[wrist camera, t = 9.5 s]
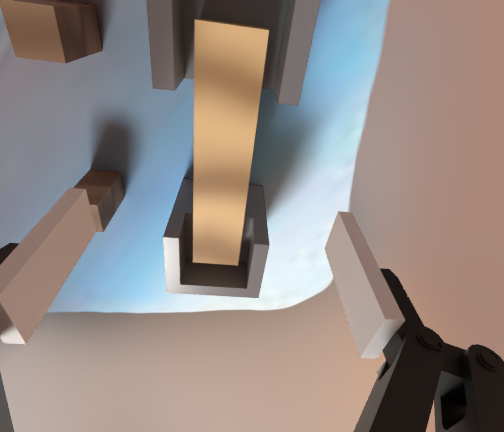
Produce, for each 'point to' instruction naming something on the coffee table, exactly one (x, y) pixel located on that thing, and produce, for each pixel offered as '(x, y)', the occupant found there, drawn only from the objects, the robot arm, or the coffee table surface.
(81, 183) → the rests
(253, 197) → the end caps
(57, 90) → the coffee table surface
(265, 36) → the slat
